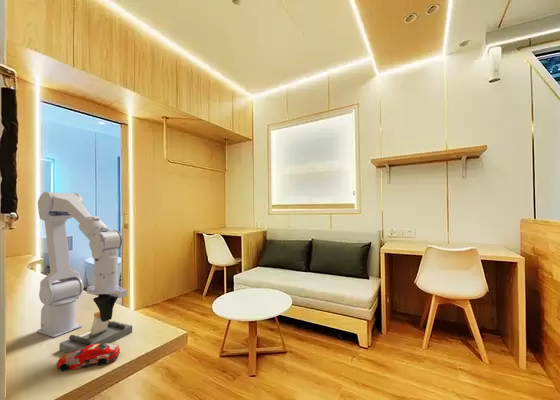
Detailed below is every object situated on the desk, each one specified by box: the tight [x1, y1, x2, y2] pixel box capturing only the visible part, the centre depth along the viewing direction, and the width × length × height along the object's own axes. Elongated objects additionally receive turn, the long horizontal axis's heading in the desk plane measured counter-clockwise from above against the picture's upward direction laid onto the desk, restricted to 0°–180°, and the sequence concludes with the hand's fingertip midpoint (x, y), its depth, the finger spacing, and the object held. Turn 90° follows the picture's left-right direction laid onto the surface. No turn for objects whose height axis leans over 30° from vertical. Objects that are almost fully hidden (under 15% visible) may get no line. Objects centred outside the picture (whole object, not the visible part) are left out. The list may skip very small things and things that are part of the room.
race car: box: [56, 343, 121, 372], centre depth 66 cm, size 13×5×4 cm, turn 106°
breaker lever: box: [89, 311, 110, 337], centre depth 76 cm, size 2×5×7 cm, turn 157°
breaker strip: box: [59, 320, 133, 354], centre depth 77 cm, size 9×15×3 cm, turn 157°
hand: (106, 320), depth 75 cm, fingers closed, pressing on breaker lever
